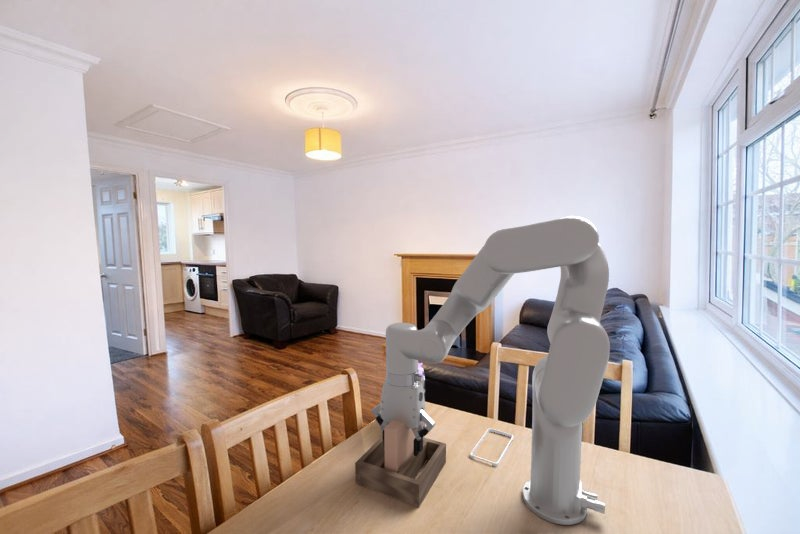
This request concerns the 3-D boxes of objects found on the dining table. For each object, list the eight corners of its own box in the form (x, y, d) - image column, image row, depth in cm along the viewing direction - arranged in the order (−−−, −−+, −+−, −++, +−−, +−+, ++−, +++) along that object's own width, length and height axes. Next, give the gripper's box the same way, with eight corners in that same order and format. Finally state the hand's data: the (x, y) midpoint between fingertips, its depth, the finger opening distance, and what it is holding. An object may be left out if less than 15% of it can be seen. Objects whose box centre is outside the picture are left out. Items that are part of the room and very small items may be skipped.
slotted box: (445, 462, 89) (446, 443, 89) (419, 507, 75) (419, 484, 74) (389, 445, 97) (389, 428, 96) (355, 483, 82) (355, 462, 82)
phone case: (488, 431, 104) (469, 459, 91) (488, 427, 104) (469, 454, 91) (514, 439, 100) (497, 469, 88) (514, 434, 100) (497, 464, 87)
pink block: (418, 460, 90) (418, 407, 89) (396, 490, 80) (396, 431, 78) (407, 457, 92) (407, 404, 90) (384, 486, 81) (384, 427, 80)
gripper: (442, 377, 83) (442, 449, 85) (378, 365, 91) (378, 431, 92) (430, 390, 76) (430, 468, 78) (361, 375, 84) (363, 446, 86)
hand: (402, 447), depth 85 cm, fingers open, 7 cm apart
